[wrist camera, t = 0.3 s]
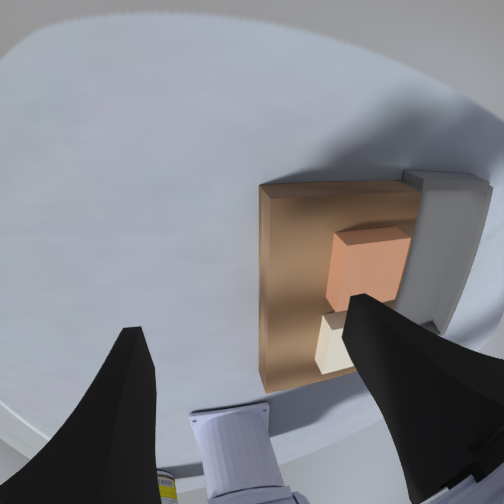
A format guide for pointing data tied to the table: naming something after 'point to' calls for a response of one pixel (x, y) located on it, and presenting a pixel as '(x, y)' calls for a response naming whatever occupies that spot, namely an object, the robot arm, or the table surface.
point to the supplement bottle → (167, 488)
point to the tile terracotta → (366, 265)
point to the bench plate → (313, 264)
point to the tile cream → (332, 344)
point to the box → (442, 245)
